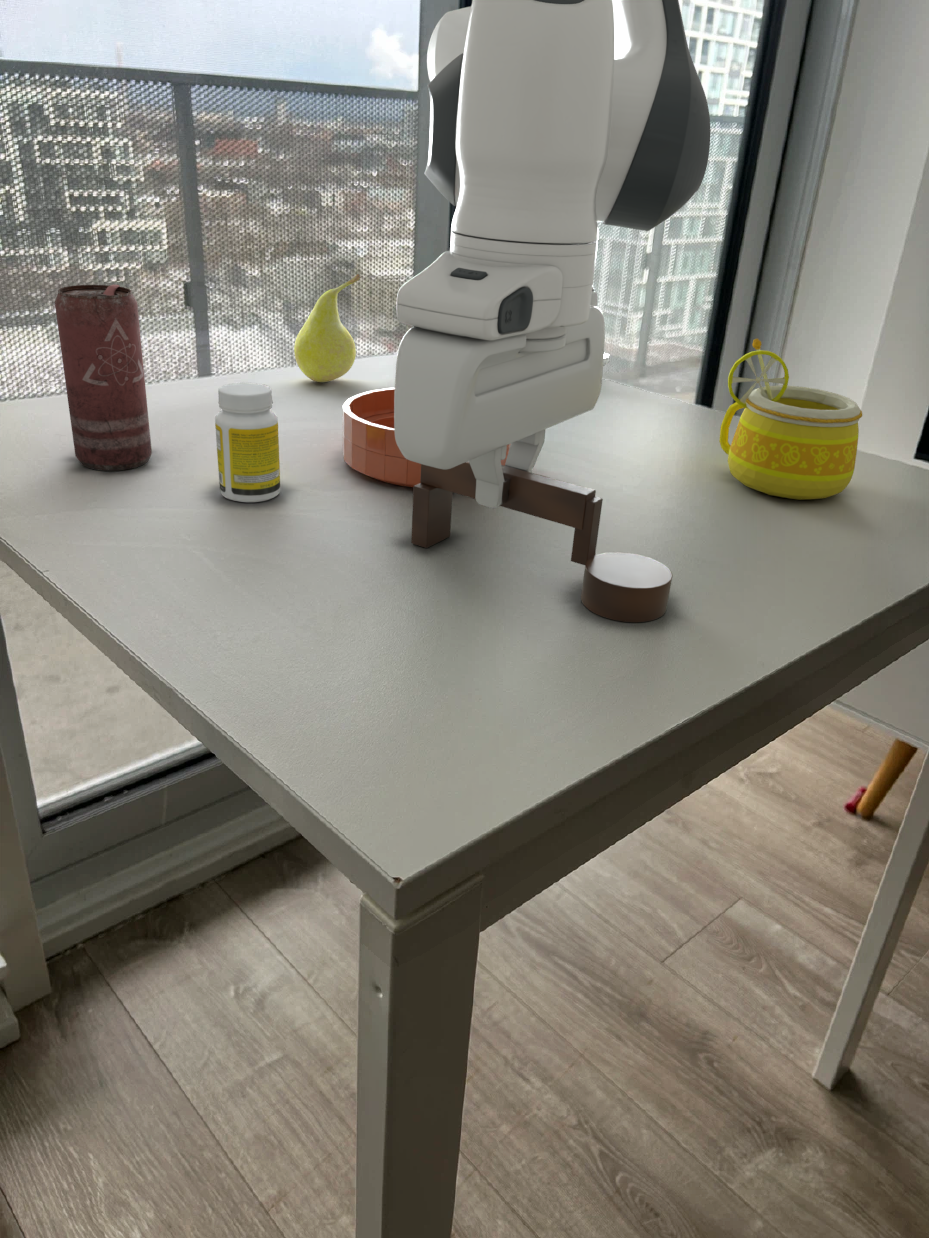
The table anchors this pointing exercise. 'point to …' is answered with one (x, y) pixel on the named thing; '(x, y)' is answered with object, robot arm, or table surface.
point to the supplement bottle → (247, 443)
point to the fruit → (325, 340)
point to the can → (104, 375)
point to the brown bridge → (609, 578)
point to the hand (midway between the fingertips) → (502, 498)
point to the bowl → (377, 439)
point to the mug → (790, 436)
